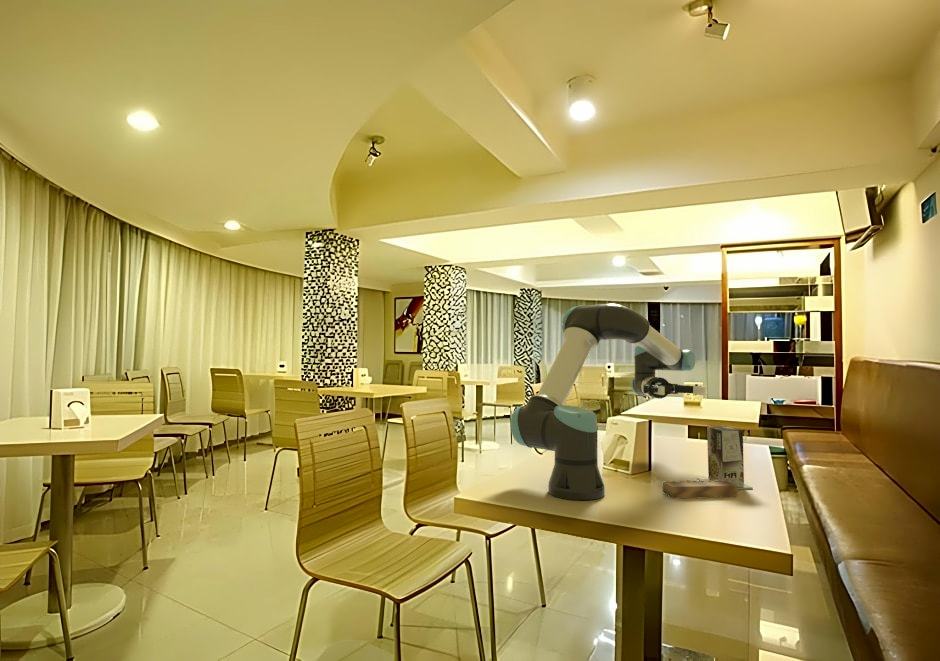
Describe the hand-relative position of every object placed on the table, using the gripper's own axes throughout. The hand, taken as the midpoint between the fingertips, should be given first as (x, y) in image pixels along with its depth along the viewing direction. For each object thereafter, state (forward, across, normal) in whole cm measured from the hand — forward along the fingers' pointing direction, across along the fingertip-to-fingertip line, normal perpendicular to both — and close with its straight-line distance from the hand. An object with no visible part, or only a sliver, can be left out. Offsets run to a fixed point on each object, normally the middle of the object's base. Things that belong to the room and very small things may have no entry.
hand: (684, 391), depth 167 cm
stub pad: (+14, -5, -26) cm, 30 cm away
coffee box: (+15, -5, -26) cm, 30 cm away
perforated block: (+24, +8, -27) cm, 37 cm away
